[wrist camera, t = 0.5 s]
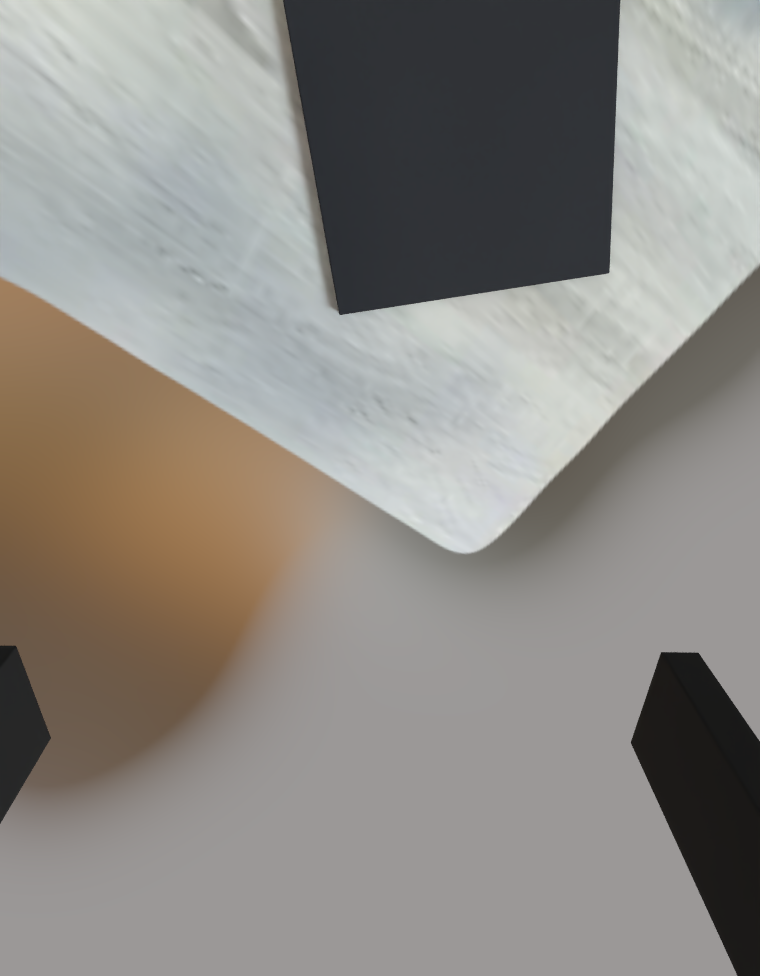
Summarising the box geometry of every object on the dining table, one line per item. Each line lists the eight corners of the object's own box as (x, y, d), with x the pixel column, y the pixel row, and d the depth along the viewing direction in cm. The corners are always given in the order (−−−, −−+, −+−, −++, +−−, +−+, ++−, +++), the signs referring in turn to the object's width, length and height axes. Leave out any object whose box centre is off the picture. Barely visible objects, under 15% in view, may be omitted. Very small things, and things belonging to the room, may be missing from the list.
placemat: (258, -144, 25) (256, -151, 25) (624, -221, 24) (629, -230, 24) (339, 313, 35) (339, 315, 34) (606, 271, 33) (609, 273, 33)
